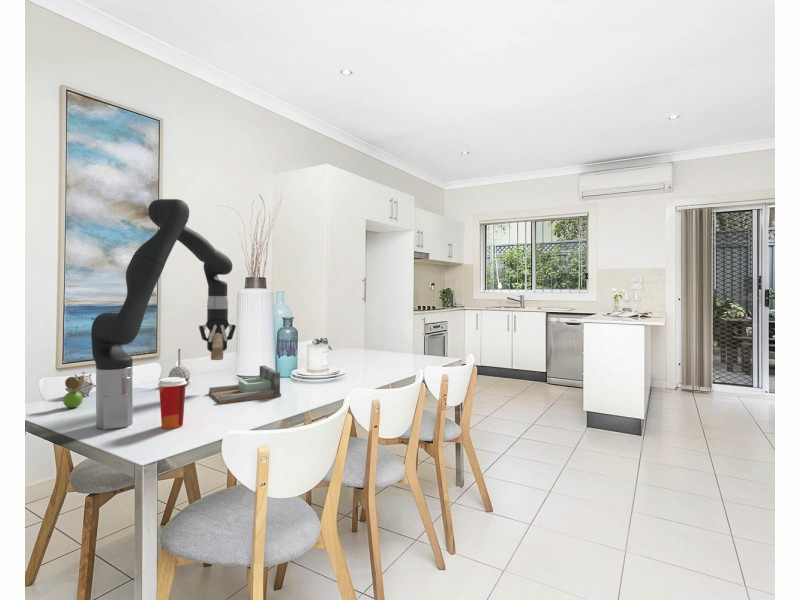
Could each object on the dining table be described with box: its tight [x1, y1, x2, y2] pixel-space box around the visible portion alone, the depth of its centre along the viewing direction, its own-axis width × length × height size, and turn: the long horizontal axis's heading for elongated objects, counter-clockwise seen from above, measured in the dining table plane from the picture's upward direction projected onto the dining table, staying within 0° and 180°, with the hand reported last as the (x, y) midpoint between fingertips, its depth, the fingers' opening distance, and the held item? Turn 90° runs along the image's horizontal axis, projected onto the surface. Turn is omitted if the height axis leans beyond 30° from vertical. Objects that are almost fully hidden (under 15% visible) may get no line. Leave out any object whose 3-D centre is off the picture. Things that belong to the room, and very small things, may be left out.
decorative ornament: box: [167, 348, 191, 386], centre depth 190 cm, size 8×8×15 cm
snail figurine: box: [62, 371, 86, 409], centre depth 154 cm, size 5×6×12 cm
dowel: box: [210, 333, 224, 361], centre depth 182 cm, size 4×4×10 cm
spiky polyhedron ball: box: [74, 373, 96, 397], centre depth 169 cm, size 9×8×10 cm
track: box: [208, 365, 282, 405], centre depth 175 cm, size 18×22×9 cm
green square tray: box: [238, 377, 271, 393], centre depth 178 cm, size 10×10×4 cm
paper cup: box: [157, 377, 187, 430], centre depth 137 cm, size 8×8×14 cm
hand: (217, 350), depth 182 cm, fingers closed on dowel, 4 cm apart
